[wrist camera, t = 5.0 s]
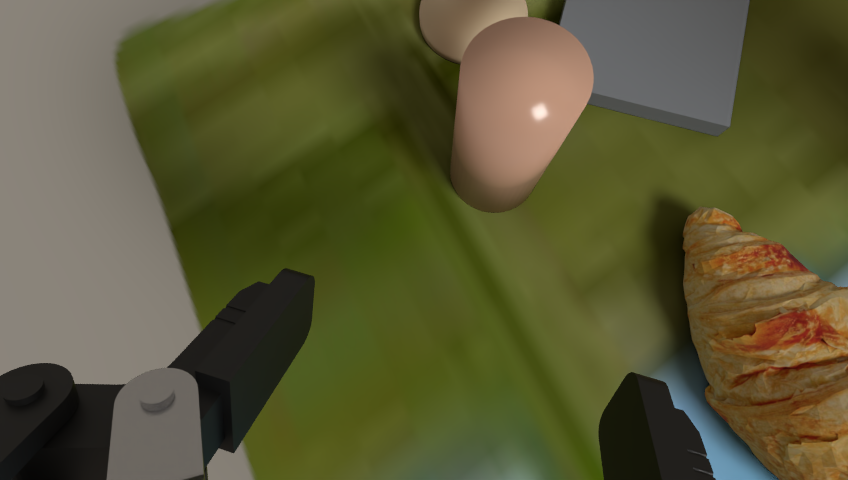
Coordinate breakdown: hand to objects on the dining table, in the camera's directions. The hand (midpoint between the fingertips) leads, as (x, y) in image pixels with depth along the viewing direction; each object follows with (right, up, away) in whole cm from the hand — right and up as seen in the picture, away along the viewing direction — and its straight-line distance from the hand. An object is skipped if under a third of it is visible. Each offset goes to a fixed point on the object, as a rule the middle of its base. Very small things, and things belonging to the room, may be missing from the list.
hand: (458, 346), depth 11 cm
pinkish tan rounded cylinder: (+3, +7, +16) cm, 18 cm away
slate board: (+14, +17, +18) cm, 29 cm away
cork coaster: (+2, +17, +19) cm, 25 cm away
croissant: (+19, -5, +13) cm, 24 cm away
